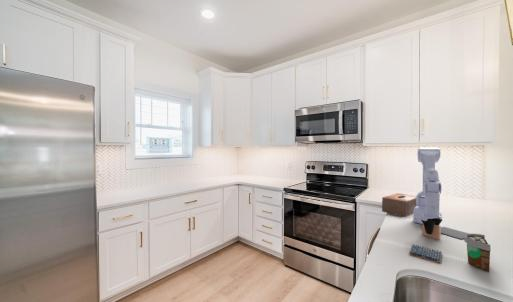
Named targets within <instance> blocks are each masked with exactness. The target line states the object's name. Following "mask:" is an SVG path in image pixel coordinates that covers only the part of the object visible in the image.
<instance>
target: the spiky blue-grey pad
mask: <svg viewBox="0 0 513 302" xmlns="http://www.w3.org/2000/svg"><path fill="white" fill-rule="evenodd" d="M408 254H409V255H410V256H412V257H416V258H419V259H423V260H427V261H430V262H434V263H438V264H442V261H443V252H442V251H441V250H438V249H437V250H436V249H434V248H432V249H431V248H429V247H426V246H425V247H424V246H421V245H418V246H417V244H415V243H413V244H412V245H411V248H410V250H409V252H408Z"/></svg>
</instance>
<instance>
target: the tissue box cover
mask: <svg viewBox="0 0 513 302" xmlns="http://www.w3.org/2000/svg"><path fill="white" fill-rule="evenodd" d="M416 197H417V195H412V194H406V193H399V192H396V193H392V194H389V195H386V196H383V197H381V199H382V201H381V204H382V205H381V212H383V213H387V214H391V215H395V216H399V217H404V218H405V217H406V218H407V217H409V216H411V215H413V212H414V208H415V207H416V206H417V205H416Z"/></svg>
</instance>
